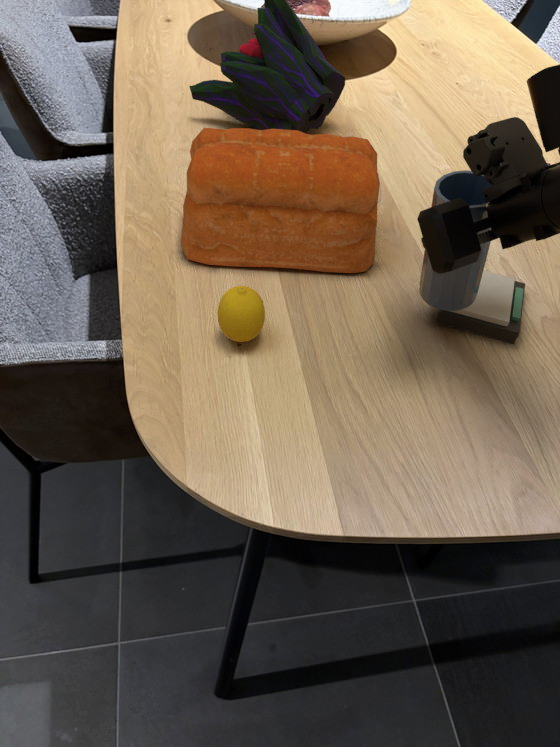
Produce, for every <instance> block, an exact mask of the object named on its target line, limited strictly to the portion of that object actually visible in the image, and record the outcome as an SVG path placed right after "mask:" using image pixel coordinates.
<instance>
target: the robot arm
mask: <svg viewBox="0 0 560 747" xmlns="http://www.w3.org/2000/svg"><path fill="white" fill-rule="evenodd" d="M526 84H527V88H528V93H529V97H530V101H531V104H532V108H533V112H534V116H535V120H536V123H537V127H538V131H539V136H540V139H541V143H542V147H543V148H544V152H545V153H548V152H552V151H555V150H557V152H558V155H559V156H560V63H559V64H556V65H552V66H548V67H545V68H543V69H541V70H539V71H537V72H536V73H535V74H533V75H531V76H529V77H528V78H527V79H526ZM542 147H541V146H540V144H539V142H538V141H537V139H536V138H535V136H534V134H533V133H532V131H531V130H530V128H529V126H528V124H526V121H524V120H523V119H522V118H520V117H518V116H513V117H509V118H504V119H501V120H497V121H495V122H491V123H488V124H487V125H486V127H485V128H483V129H479V131H478V132H477V133H476V134H473V135H470V136H468V138H467V145H466V147H465V148H464V149H463V151H462V158H463V159H464V162H465V163H466V164H467V166H468V168H469V171H472V173H473V174H474V175H475V176H480V175H484V177H485V178H486V180H487V181H488V182H489V183H490V184H492V185H493V186H490V187H487V188H485V189H482V191H483V194H484V198H485V201H486V202H490V203H488V204H486V210H487V212H488V217H487V218H484V219H481V220H479V221H476V222H474V221H473V218H472V214H471V211H470V207H469V205H468V204H467V203H466V202H464V201H463V200H462V199H460V198H458V199H454V200H451V201H448V202H445V203H442V204H439V205H436V206H433V207H431V206H430V207H428V208H426V209H423V210H421V211H419V213H418V216H417V218H416V219H417V222H418V223H417V224H418V225H419V226H418V227H419V229H420V233H421V239H420V240H421V244H422V247H423V249H424V250H425V249H426V250H427V253H428V257H429V260H430V264H431V267H432V270H433V271H434V272H436V273H437V274H442V273H446V272H451V271H454V270H456V269H459V268H461V267H464V266H467V265H469V264H472V263H474V262H477V261H478V259H479V256H480V253H481V251H482V250H481V246H480V245H482V244H484V243H487V242H490V241H491V242H493V241H495V240H497V239H499V242H500V245H501V248H502V250H506V249H510V248H513V247H515V246H518V245H521V244H524V243H526V242H529V241H534V240H535V241H536V242H539V241H543V240H547V239H549V238H551V237H554V236H557V235H559V234H560V161H559V162H555V163H553V164H549V165H548V163H547V161H546V159H545V156H544V152H543V149H542ZM488 228H491V229H492V230H489V231H486V232H484V233H481V234H478V235H477V232H480V231H483V230H486V229H488ZM491 242H490V243H491Z"/></svg>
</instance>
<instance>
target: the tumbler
mask: <svg viewBox="0 0 560 747" xmlns="http://www.w3.org/2000/svg"><path fill="white" fill-rule="evenodd" d="M490 186H493V185H492V184H490V183H489V182H488V181H487V180H486V178H485V177H484V175H480V176H475V175H474V174H473V173H472V171H471V170H467V169H466V170H455V171H451V172H448V173H445V174H443V175H441V177H439V178H438V179H437V180H436V181H435V184H434V187H433V194H432V200H431V206H430V207H433V206H436V205H439V204H442V203H445V202H448V201H451V200H454V199H458V198H460V199H462V200H463V201H464V202H466V203H467V204H468V205H469V207H470V211H471V214H472V218H473V221H474V222H476V221H479V220H481V219H484V218H487V217H488V212H487V210H486V204H488V203H490V202H486V201H485V198H484V194H483V191H482V189H485V188H487V187H490ZM489 230H492V229H491V228H488V229H486V230H483V231H480V232H477V235H478V234H481V233H484V232H486V231H489ZM491 242H492V241H490V242H487V243H484V244H482V245H480V246H481V250H482V251H481V253H480V256H479V259H478V261H477V262H474V263H472V264H469V265H467V266H464V267H461V268H459V269H456V270H454V271H451V272H446V273H442V274H437V273H436V272H434V271H433V270H432V267H431V264H430V260H429V257H428V253H427V250H426V249H425V248H424V253H423V259H422V266H421V272H420V277H419V288H418V292H419V295H420V298H421V299H422V300H423V301H424V302H425V303H426V304H427V305H428V306H430V307H431V308H435V309H437V310H439V309H440V310H446V311H457V310H462V309H465V308H467V307H469V306H470V305H471V304H472V303H473V302H474V301H475V299H476V297H477V294H478V290H479V286H480V282H481V278H482V274H483V270H485V265H486V262H487V258H488V255H489V250H490V245H491Z"/></svg>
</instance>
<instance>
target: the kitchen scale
mask: <svg viewBox="0 0 560 747" xmlns="http://www.w3.org/2000/svg"><path fill="white" fill-rule="evenodd" d="M525 288H526V283H524V282H521V281H517V280H516V278H515V277H512V276H508V275H505V274H501V273H496V272H493V271H488V270H485V269H484V270H483V274H482V278H481V282H480V286H479V290H478V294H477V297H476V299H475V301H474V302H473V303H472V304H471V305H470V306H469V307H467V308H465V309H462V310H457V311H446V310H440V309H437V314H436V319H435V323H436V324H439V325H443V326H446V327H449V328H454V329H457V330H461V331H465V332H468V333H470V334H471V333H472V334H476V335H479V336H483V337H487V338H490V339H493V340H497V341H501V342H504V343H508V344H511V345H515V344H516V341H517V340H518V338H519V336H520V333H521V324H522V316H523V308H524V298H525Z"/></svg>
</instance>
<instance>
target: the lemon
mask: <svg viewBox="0 0 560 747" xmlns="http://www.w3.org/2000/svg"><path fill="white" fill-rule="evenodd" d="M217 307H218V308H217V322H218V326H219V328H220V330H221V332H222V333H223V334H224V335H225V337H226V338H228V339H230V340H231V341H233V342H238V343H239V342H240V343H244V342H249V341H251V340H253V339H255V338H256V337H257V336H258V335H259V334H260V332H262V329H263V327H264V324H265V321H266V309H265V305H264V301H263V298H262V296H260V294H259V293H258V291H257V290H256V289H253V288H252V287H249V286H246V285H237V286H234V287H231V288H229V289H228V290H226V291H225V292H224V293H223V295H222V296H221V298H220V300H219V302H218V306H217Z"/></svg>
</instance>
